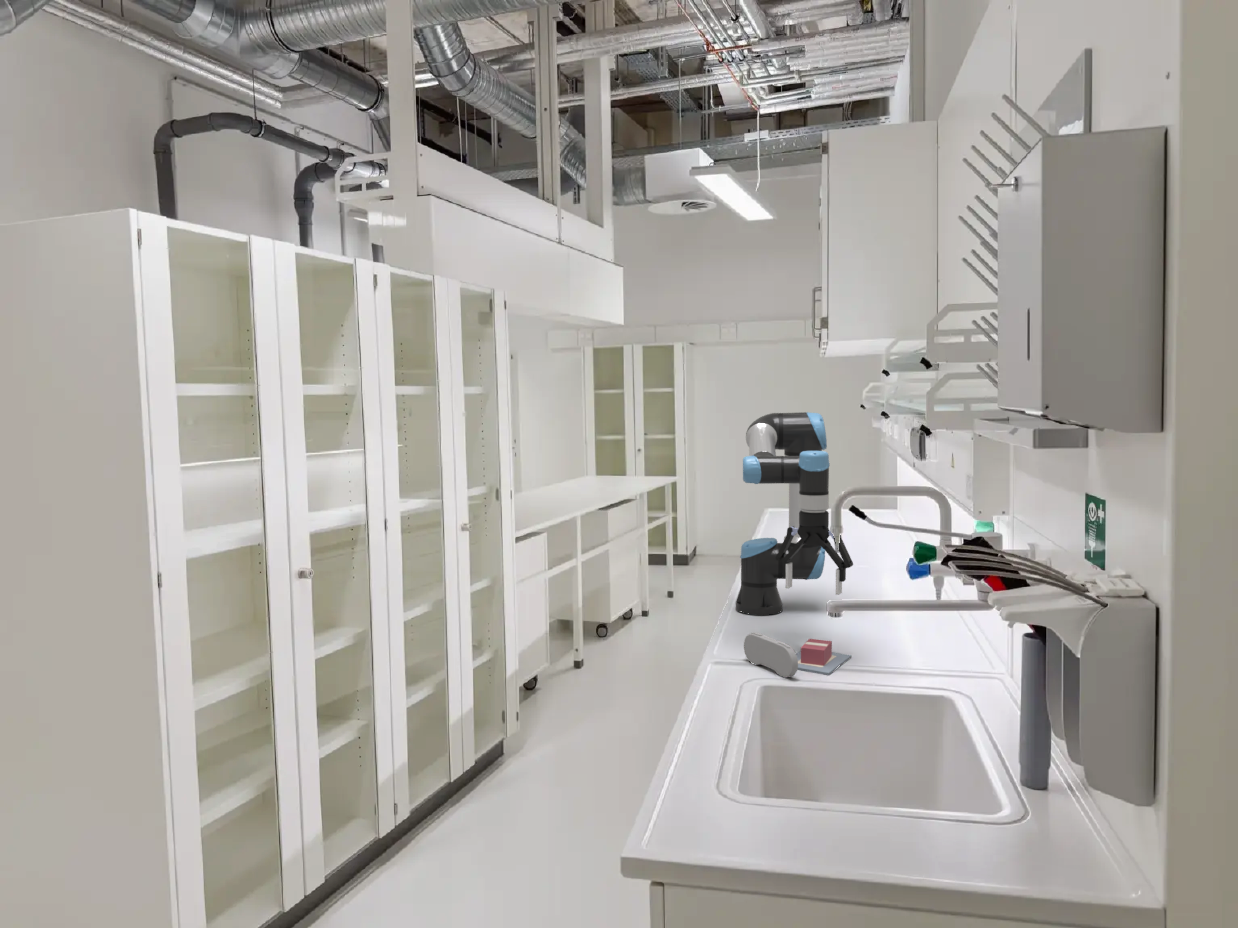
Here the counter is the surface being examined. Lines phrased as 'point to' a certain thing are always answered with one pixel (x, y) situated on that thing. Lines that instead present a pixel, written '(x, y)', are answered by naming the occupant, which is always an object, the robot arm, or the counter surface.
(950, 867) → the counter surface
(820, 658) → the card deck box
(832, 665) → the grey flat board
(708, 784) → the counter surface
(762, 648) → the game controller
